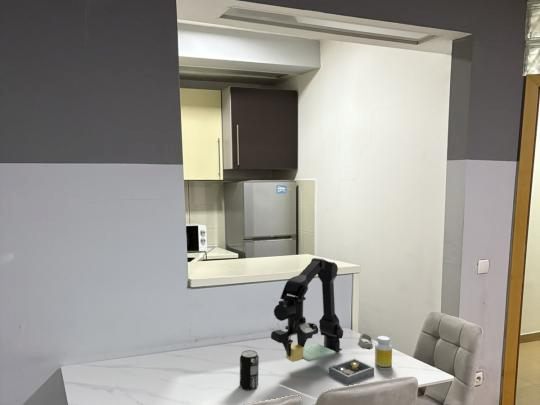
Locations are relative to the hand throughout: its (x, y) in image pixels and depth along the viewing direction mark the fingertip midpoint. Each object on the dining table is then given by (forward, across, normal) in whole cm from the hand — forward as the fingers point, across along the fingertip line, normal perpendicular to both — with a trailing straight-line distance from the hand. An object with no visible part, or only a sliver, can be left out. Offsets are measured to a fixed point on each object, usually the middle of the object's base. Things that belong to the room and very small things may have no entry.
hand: (294, 354), depth 156 cm
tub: (+8, +18, -12) cm, 23 cm away
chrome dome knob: (+7, +15, -10) cm, 19 cm away
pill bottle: (+8, +34, -14) cm, 38 cm away
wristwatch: (+8, +46, +6) cm, 47 cm away
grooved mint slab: (+2, +7, 0) cm, 7 cm away
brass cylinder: (+7, +22, -10) cm, 25 cm away
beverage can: (+8, -19, +2) cm, 21 cm away
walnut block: (+7, +14, -14) cm, 21 cm away
